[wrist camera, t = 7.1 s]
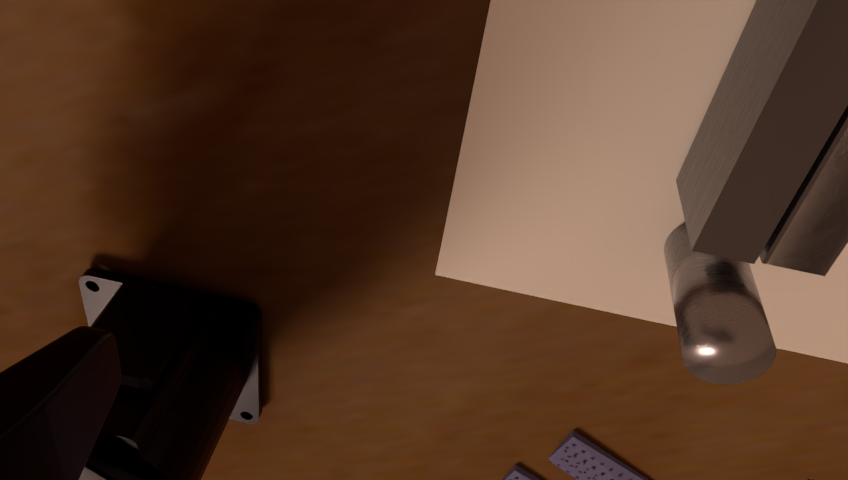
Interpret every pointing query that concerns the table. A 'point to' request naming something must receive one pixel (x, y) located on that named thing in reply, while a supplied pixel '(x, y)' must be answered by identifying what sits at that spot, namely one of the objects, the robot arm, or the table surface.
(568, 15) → the cutting board
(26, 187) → the table surface
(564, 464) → the pair of lilac bars
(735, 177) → the tongs moving arm
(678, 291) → the tongs fixed arm
